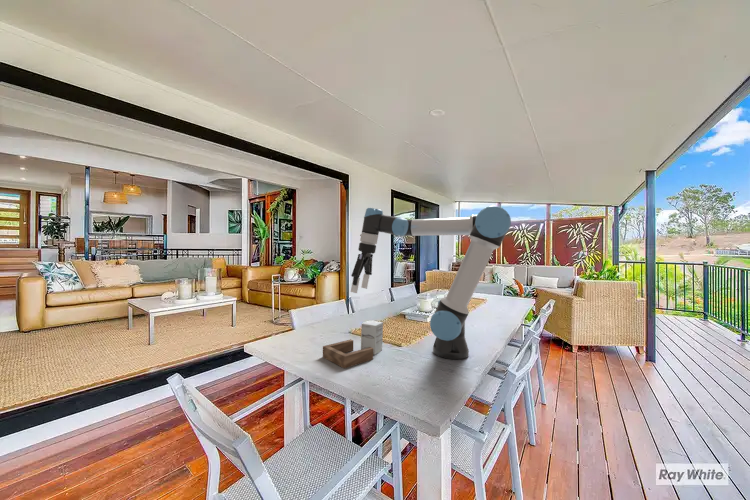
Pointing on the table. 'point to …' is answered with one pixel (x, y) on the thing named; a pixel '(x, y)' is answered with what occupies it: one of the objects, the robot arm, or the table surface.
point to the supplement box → (372, 335)
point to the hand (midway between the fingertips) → (359, 290)
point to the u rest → (339, 357)
